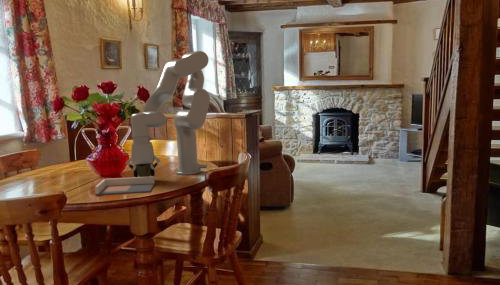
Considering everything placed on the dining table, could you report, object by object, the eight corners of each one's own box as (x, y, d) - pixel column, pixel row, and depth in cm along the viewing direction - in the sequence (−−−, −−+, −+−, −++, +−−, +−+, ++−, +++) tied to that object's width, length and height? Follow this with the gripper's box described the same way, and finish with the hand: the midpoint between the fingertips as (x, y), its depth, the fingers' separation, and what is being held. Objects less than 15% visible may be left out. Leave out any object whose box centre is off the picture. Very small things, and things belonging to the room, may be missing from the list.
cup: (154, 178, 206) (153, 161, 205) (151, 181, 199) (150, 164, 197) (138, 178, 206) (137, 162, 205) (135, 182, 198) (133, 165, 197)
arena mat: (154, 184, 194) (154, 182, 194) (150, 192, 179) (150, 190, 179) (104, 186, 192) (104, 185, 192) (95, 195, 177) (95, 193, 177)
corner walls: (154, 182, 194) (154, 176, 193) (150, 190, 179) (149, 183, 179) (104, 185, 192) (103, 179, 192) (95, 193, 177) (94, 186, 177)
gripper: (161, 137, 204) (164, 174, 206) (123, 140, 202) (127, 177, 205) (159, 139, 196) (162, 178, 199) (120, 142, 195) (124, 180, 197)
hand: (144, 177), depth 202 cm, fingers closed on cup, 6 cm apart
